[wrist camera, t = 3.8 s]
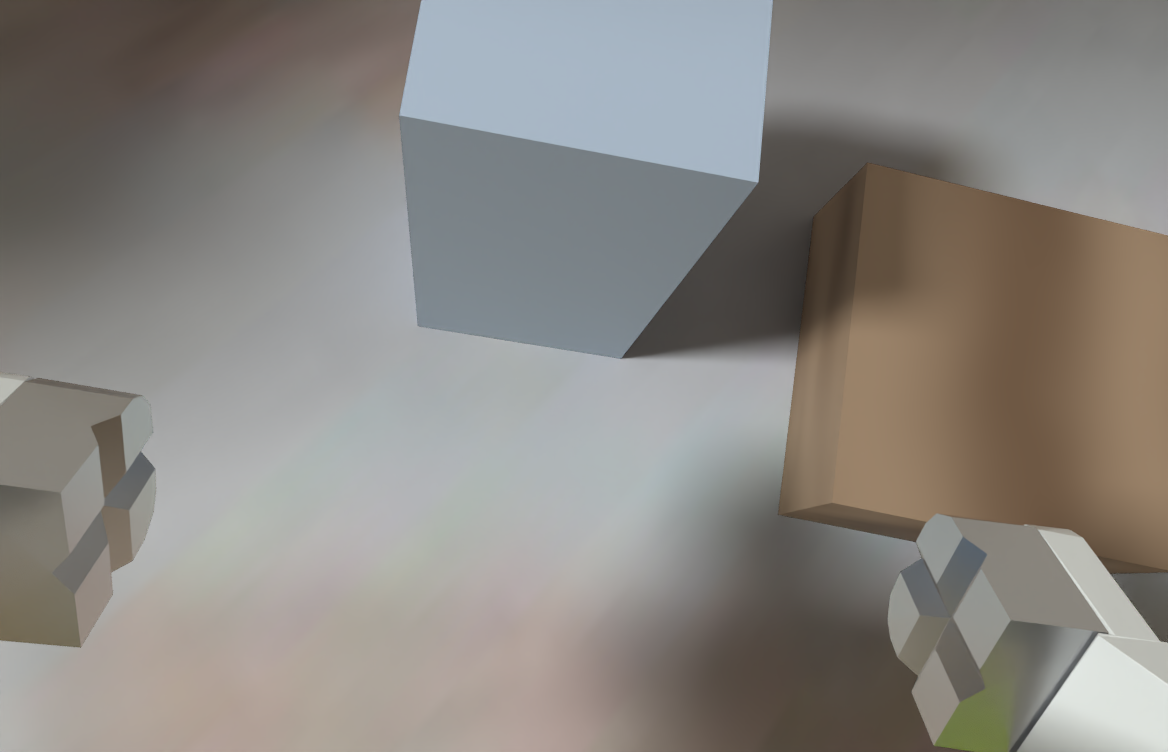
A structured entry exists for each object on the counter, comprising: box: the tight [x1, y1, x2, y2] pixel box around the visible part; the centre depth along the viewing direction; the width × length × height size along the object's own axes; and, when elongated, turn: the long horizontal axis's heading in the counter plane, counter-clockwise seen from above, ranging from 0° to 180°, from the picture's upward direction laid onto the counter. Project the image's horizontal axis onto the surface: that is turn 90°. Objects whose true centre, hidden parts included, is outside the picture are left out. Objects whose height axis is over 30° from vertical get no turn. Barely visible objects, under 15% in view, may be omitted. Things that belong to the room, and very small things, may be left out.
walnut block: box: [778, 163, 1168, 574], centre depth 22 cm, size 8×8×4 cm
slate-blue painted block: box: [399, 0, 773, 359], centre depth 18 cm, size 5×5×10 cm
